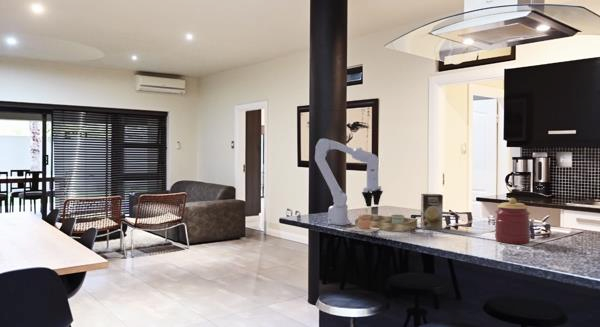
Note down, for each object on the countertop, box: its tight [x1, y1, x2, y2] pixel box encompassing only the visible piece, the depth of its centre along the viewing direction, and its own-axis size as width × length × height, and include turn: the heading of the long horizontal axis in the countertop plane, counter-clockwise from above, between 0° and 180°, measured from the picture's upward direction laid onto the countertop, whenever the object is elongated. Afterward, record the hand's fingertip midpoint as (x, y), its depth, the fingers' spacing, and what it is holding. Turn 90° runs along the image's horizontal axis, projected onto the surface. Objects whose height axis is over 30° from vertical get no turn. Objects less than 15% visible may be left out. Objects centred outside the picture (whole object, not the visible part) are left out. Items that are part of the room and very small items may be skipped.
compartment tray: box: [354, 214, 418, 232], centre depth 224 cm, size 25×15×4 cm, turn 52°
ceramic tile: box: [347, 226, 381, 233], centre depth 216 cm, size 12×9×1 cm
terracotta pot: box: [357, 214, 372, 229], centre depth 217 cm, size 6×6×6 cm
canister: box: [494, 197, 531, 245], centre depth 188 cm, size 13×13×18 cm
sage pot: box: [391, 214, 405, 225], centre depth 220 cm, size 6×6×6 cm
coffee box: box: [420, 193, 444, 230], centre depth 219 cm, size 9×6×16 cm
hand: (372, 205), depth 231 cm, fingers open, 7 cm apart
